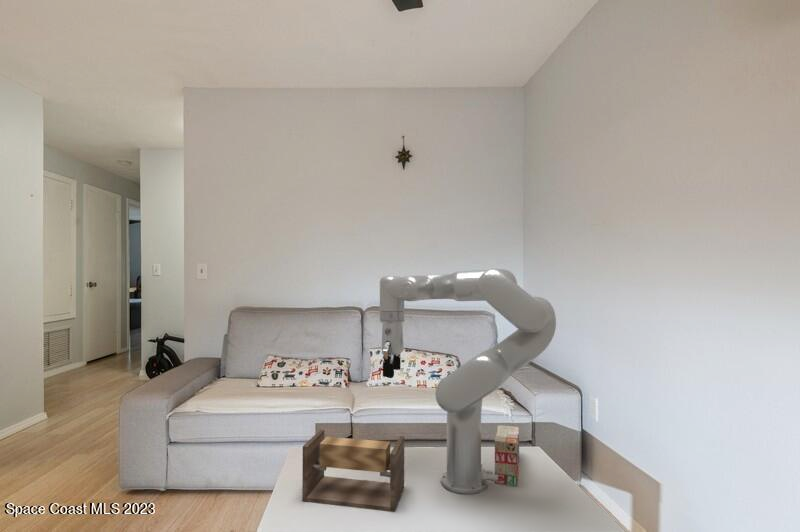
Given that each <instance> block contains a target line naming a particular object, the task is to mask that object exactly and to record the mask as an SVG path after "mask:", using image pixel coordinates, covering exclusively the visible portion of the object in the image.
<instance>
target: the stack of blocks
mask: <svg viewBox="0 0 800 532" xmlns="http://www.w3.org/2000/svg"><path fill="white" fill-rule="evenodd" d="M496 428H497V429H496V434H495V437H494V474H498V482H494V484H497V485H505V486H511V487H518V482H519V472H520V470H519V469H520V468H519V464H520V427H519V426H511V425H501V424H500V425H497V427H496Z"/></svg>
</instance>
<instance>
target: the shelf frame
mask: <svg viewBox="0 0 800 532" xmlns="http://www.w3.org/2000/svg"><path fill="white" fill-rule="evenodd" d="M324 439H325V429H320V430H319V431H318V432H317V433H315V435H313V436H312V437H311V438H310V439H309V440H308V441H307V442H306V443H305V444H303V445H302V480H301V482H302V489H301V490H302V491H301V492H302V498H301V499H302V500H301V501H302V502H307V503H316V504H325V505H334V506H340V507H341V506H342V507H349V508H351V507H352V508H358V509H359V508H360V509H369V510H376V511H377V510H378V511H386V512H396V510H397V507H398V505H399V503H400V500H401V498H402V495H403V492H404V490H405V436H404V435H402V436H401V435H400V436H399V437H398V439H397V441H396V442H395V445H394V447H393V449H392V450H391V451H390V466H389V468H388V470H387V472H386V473H382V472H379V477H387V478H389V482H386V481H377V480H367V479H355V478H345V477H337V476H335V477H334V476H328V475H327V476H326V475H325V471H327V468H328V467H320V443H321V442H322V441H323V440H324Z"/></svg>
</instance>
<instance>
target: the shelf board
mask: <svg viewBox="0 0 800 532" xmlns="http://www.w3.org/2000/svg"><path fill="white" fill-rule="evenodd" d="M390 454H391V441H387V440H386V441H385V440H384V441H382V440H373V439H359V438H346V437H334V436H325V437H324V440H323V441H322V442H321V443H320V467H327V468H332V469H339V470H340V469H342V470H352V471H361V472H362V471H363V472H364V471H365V472H372V473H373V472H374V473H380V472H382V473H386V472H388V471H389V470H388V468H389V466H390Z"/></svg>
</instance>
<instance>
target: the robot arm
mask: <svg viewBox="0 0 800 532" xmlns="http://www.w3.org/2000/svg"><path fill="white" fill-rule="evenodd" d="M425 300H454V301H456V302H480V301H481V302H483V301H485V302H486V303H488V305H490V306H491V307H492V308H493V309H494V310H495V311H496V312H498V314H499V315H501V316H502V317H503V318H504V319H505V320H507V321H508V322H509V323H510V324H511V325H513V326H514V327H515V328H516V329H517V330H515V331H514V332H512V333H511V334H510V335H508V336H507V337H505V338H504V339H503V340H502V341H500V342H498V343H497V344H496V345H494V346H492V347H491V348H488V349H486V350H483V351H482V352H480V353H479V354H477V355H475V356H473V357H472V358H470V359H469V360H468V361H465V362H464V363H463V364H462V365H461V366H459V367H457V368H456V369H454V370H453V371H452V372H449V374H448V375H446V376H445V377H443V378H442V379H441V380H440V381H439V382H438V384H437V386H436V388H435V394H434V395H435V400H436V402H437V403H436V404H437V405H438V407H439V408H440V409H442V410H443V411H444V412H447V413H446V471H445V472H444V473H443V474H442V475H441V478H440V480H441V481H440V482H441V485H442V486H443V487H444V488H445V489H447V490H448V491H451V492H453V493H458V494H461V495H462V494H463V495H464V494H466V495H470V494H471V495H472V494H477V493H480V492H482V491H484V490H485V489H486V488H487V486H488V481H489V482H494V483H495V482H498V474H495V473H494V470H490V469H489V470H485V468H483V463H482V408H483V399H484V398H486V397H487V396H488V395H490V394H492V393H493V392H494V391H496V390H497V389H499V388H500V387H501V386H502V385H503V384H504V383H505V382H506V381H507V380H508V379H509V378H510V377H511V376H512V375H513V374H515V373H516V372H518V371H519V370H520V369H522V368H524V367H525V366H526V365H528V364H529V363H531V362H532V361H533V360H536V359H537V358H538V357H539V356H540V355H541V354H542V353H543V352H544V351H546V349H547V348H548V347H549V345H550V343H551V342H552V340H553V338H554V336H555V333H556V329H557V328H556V326H557V318H556V313H555V309H554V307H553V305H552V304H551V302H549V300H547V299H545V298H543V297H541V296H532V295H531V294H529V293H528V292H527V291H526V290H525V289H524V288H522V287H521V286H520V285H519V284H518V281H517V278H516V276H515V275H514V274H513V272H511V271H510V270H509V269H508V270H507V269H504V268H491V269H481V270H480V269H476V270H460V271H454V272H452V273H447V274H446V273H445V274H433V275H432V274H431V275H408V276H407V275H406V276H398V275H397V276H395V275H393V276H389V275H388V276H383V277H382V276H381V278H380V280H379V322H380V323H382V327H381V353H382V355H383V356H382V376H383V378H394V376H395V371H397V370H398V371H400V370H401V354H402V353H403V352H404V330H403V329H404V328H403V323H404V322H405V302H417V301H418V302H419V301H425Z"/></svg>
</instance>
